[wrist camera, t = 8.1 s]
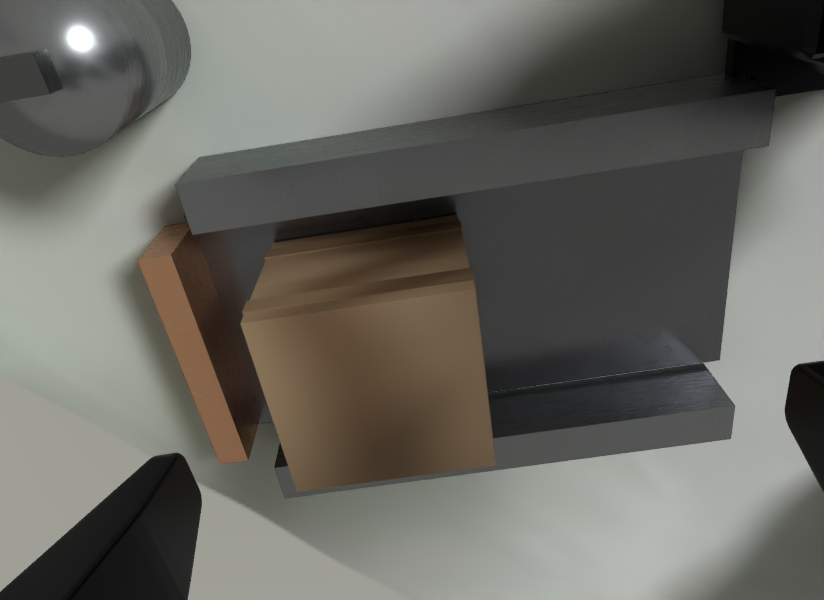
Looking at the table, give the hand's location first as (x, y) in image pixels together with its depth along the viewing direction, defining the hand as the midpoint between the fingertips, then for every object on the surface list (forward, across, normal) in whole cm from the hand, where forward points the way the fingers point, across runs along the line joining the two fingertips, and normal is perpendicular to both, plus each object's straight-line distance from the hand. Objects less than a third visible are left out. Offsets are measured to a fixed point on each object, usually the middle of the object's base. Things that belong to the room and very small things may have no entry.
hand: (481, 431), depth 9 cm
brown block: (+12, +3, +4) cm, 13 cm away
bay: (+12, +1, +2) cm, 12 cm away
